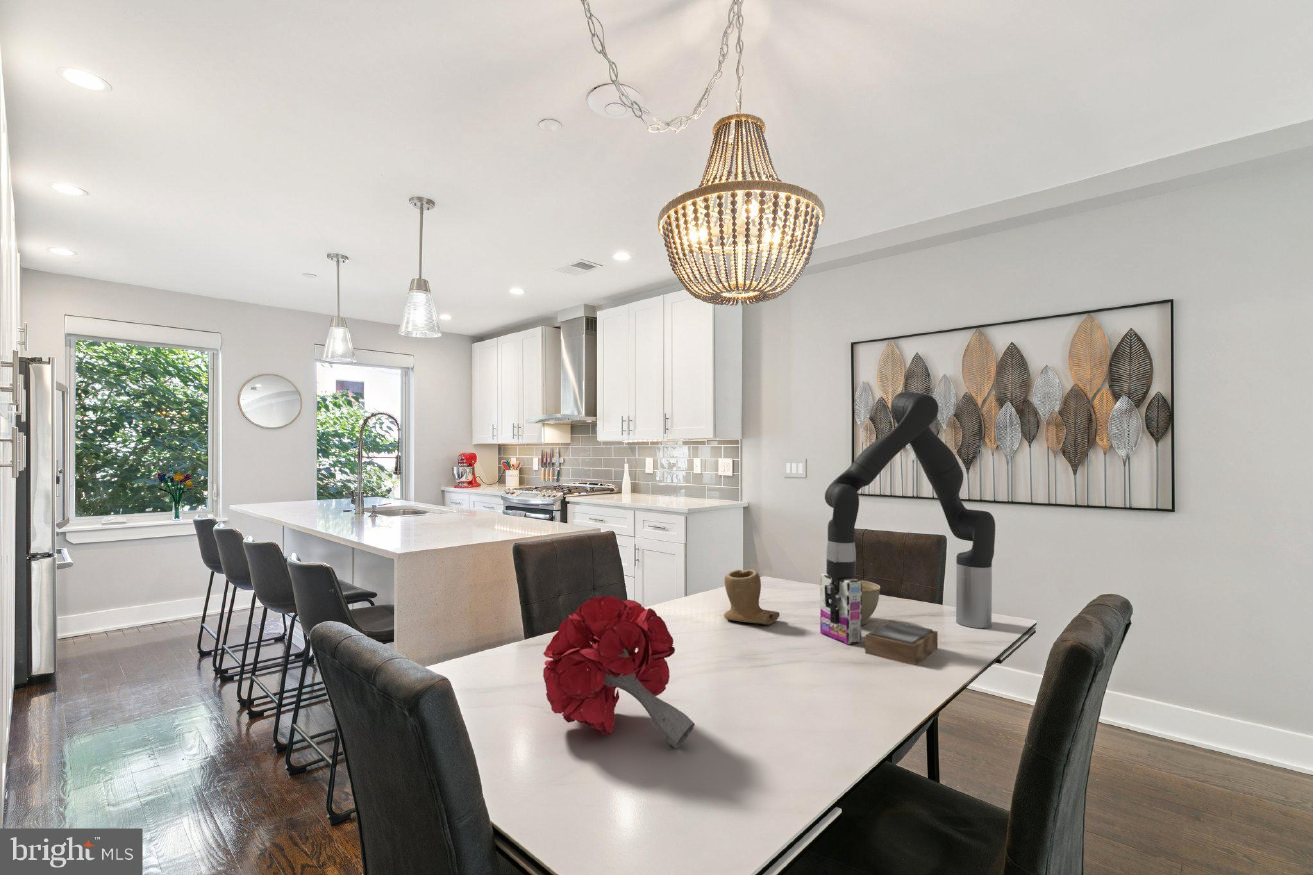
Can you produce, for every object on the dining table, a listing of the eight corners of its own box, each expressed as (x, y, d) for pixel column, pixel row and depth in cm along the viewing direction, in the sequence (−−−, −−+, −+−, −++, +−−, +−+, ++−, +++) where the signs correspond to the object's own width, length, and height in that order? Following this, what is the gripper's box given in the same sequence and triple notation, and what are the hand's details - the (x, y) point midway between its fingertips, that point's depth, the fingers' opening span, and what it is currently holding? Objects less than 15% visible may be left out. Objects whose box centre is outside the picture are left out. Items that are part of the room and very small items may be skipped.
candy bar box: (862, 642, 160) (863, 580, 160) (847, 645, 158) (848, 581, 158) (833, 630, 170) (833, 571, 171) (819, 633, 168) (819, 573, 168)
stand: (890, 638, 164) (890, 619, 164) (937, 649, 156) (937, 629, 156) (865, 653, 152) (865, 632, 152) (914, 665, 144) (914, 643, 144)
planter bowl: (885, 619, 183) (885, 582, 183) (872, 633, 169) (873, 593, 169) (831, 611, 191) (831, 576, 191) (815, 623, 178) (815, 585, 178)
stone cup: (716, 623, 177) (717, 571, 177) (732, 613, 187) (732, 564, 187) (766, 631, 169) (767, 577, 169) (780, 621, 180) (780, 569, 180)
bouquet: (691, 750, 116) (584, 646, 130) (745, 657, 109) (625, 557, 122) (623, 815, 98) (507, 686, 112) (682, 708, 91) (550, 585, 105)
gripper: (840, 553, 172) (839, 612, 172) (815, 559, 162) (814, 623, 162) (865, 556, 167) (865, 618, 167) (841, 563, 157) (841, 629, 156)
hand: (840, 620), depth 164 cm, fingers closed on candy bar box, 6 cm apart
